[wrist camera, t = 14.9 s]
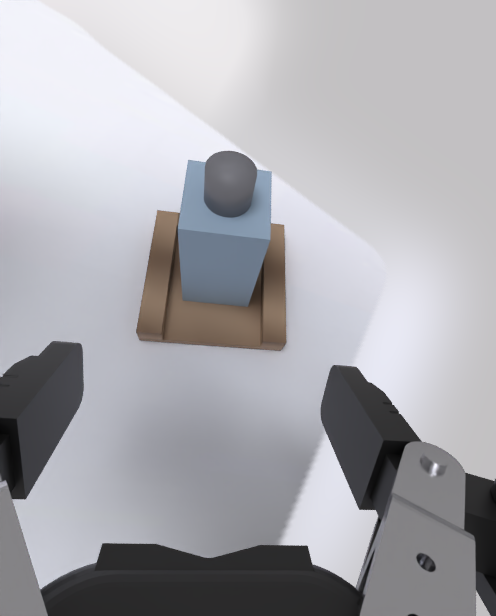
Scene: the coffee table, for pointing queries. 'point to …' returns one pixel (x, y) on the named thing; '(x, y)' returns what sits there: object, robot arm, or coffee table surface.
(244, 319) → the slot board
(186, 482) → the coffee table surface
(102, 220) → the coffee table surface
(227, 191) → the plug block
